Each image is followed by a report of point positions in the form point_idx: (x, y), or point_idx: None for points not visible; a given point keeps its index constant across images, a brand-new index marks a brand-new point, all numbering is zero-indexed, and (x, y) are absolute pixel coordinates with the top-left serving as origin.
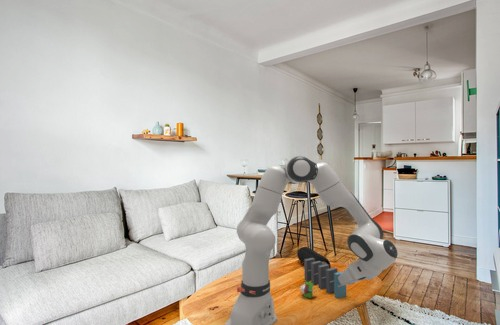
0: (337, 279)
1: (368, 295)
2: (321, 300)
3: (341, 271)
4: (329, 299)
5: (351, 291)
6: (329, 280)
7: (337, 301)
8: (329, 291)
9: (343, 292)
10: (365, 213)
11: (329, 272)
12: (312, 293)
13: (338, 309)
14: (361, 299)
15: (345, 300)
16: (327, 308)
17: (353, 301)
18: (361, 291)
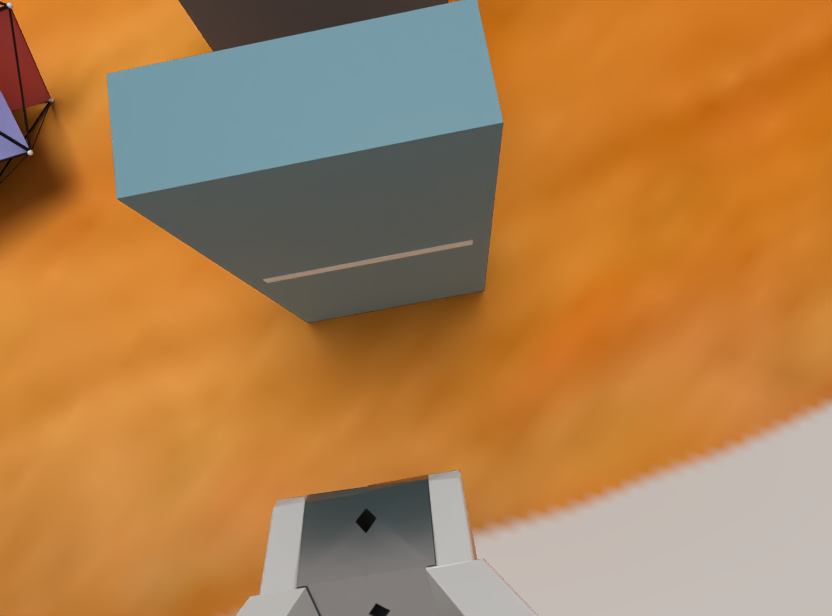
0: (191, 242)
1: (824, 402)
2: (71, 293)
3: (410, 23)
4: (186, 306)
5: (642, 200)
6: (224, 47)
7: (251, 395)
8: None
9: (420, 287)
10: None
11: None
12: (46, 111)
13: (117, 601)
14: (627, 473)
15: (376, 411)
16: (2, 517)
17: (468, 481)
18: (798, 250)
